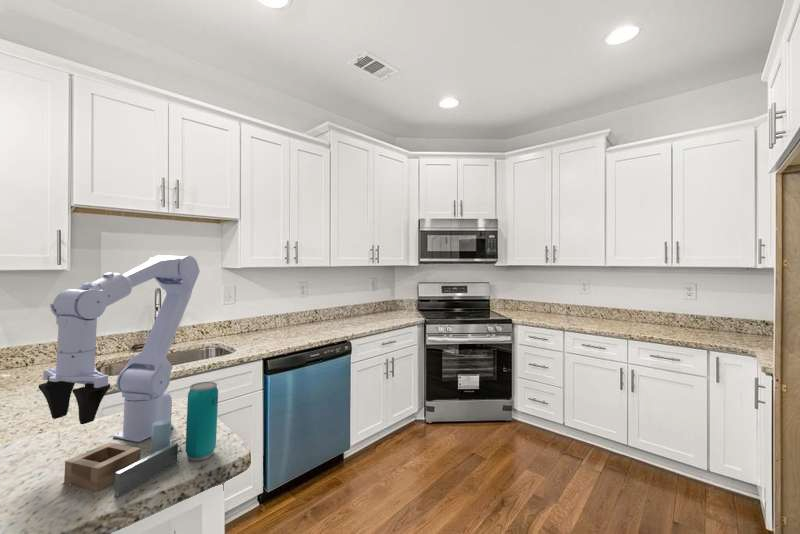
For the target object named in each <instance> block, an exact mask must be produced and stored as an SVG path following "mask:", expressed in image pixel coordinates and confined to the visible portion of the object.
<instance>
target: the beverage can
mask: <svg viewBox="0 0 800 534" xmlns="http://www.w3.org/2000/svg"><path fill="white" fill-rule="evenodd" d="M218 405H219V389H218V383H217V382H214V381H201V382H196V383H193V384H191V385H190V386H189V391H188V393H187V409H186V427H185V428H186V429H185V430H186V431H185V435H186V436H185V453H186V456H187V459H188V460H190V461H193V462H199V461H204V460H207V459H209V458H210V457H211V456H212V455H213V453H214V452H215V449H216V446H217V428H218Z"/></svg>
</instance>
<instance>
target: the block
mask: <svg viewBox="0 0 800 534" xmlns="http://www.w3.org/2000/svg"><path fill="white" fill-rule="evenodd" d="M139 460H141V448H140V447H136V446H131V445H126V444H121V443H115V442H112V441H110V442H107V443H105V444H102V445H99V446H98V447H95V448H93V449H91V450H87V451H86V452H84V453H82V454H79V455H77V456H74V457H72V458H69V459H67V460H65V461H64V477H63V484H65V483H66V485H69V484H71V485H70V486H73V487H77V488H82V489H84V490H85V489H86V490H89V491H94V492H99V491H101V490H103V489H104V488H107V487H108V486H110V485H113V484H115V473H116V472H118V471H120V470H122V469H124V468H126V467H128V466H130V465H131V464H133V463H135V462H137V461H139Z"/></svg>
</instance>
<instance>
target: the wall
mask: <svg viewBox="0 0 800 534" xmlns="http://www.w3.org/2000/svg"><path fill="white" fill-rule="evenodd" d="M178 450H179V443H178V442H173V443H170V445H169V446H167V447H165V448H163V449H161V450H159V451H157V452H155V453H153V454H151V453H150V454H149V455H148V456H145V457H144V458H142V459H141V458H140V460H139V461H137V462H135V463H133V464H131V465H130V466H128V467H126V468H124V469H122V470H120V471H118V472H116V473H115V482H114V491H113V496H114V497H118V498H120V497H121V496H123V495H125V494H127V493H128V492H130V491H131V490H134V489H135V488H137V487H138V485H139V486H140V485H142V484H144V483H145V482H147V481H149V480H151V479H152V478H155V477H156V476H158V475H159V474H161V473H163V472H164V471H166V470H168V469H170V468H172V467H173V466H176V464H178V455H179V454H178V452H179V451H178Z"/></svg>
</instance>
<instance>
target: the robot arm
mask: <svg viewBox="0 0 800 534" xmlns="http://www.w3.org/2000/svg"><path fill="white" fill-rule="evenodd" d="M200 272H201V271H200V267H199V264H198V262H197V259H196V258H195V257H194V256H191V255H184V256H183V255H182V256H181V255H164V254H158V255H155V256H153V257H149V258H148V260H147V261H145V262H143V263H142V264H140V265H138V266H136V267H134V268H132V269H130V270H129V271H126V272H125V273H123V274H122V273H119V272H106V273H103V274H102V277H101V278H98V279H96V280H93V281H91V282H84V283H82V284H81V286H80V287H79V288H77V289H75V288H70V289H66V290H63V291H60V293H58V294H57V296H55V298H54V300H53V302H52V303H50V304H49V305H50V310H51V312H52V314H53V315H54V316H55V318H56V323H55V324H56V325H57V326H58V328H57V344H56V345H57V347H56V365H55V366H56V367H52V368H47V369H43V376H42V379H43V381H46V382H44V383H40V384H38V389H39V391H41V393H42V394H43V396H44V397H45V400H46V402H47V405H48V408H49V411H50V416H51V418H52V419H53V420H57V419H59V418H63V417H66V416H67V415H68V413H69V408H70V401H71V395H72V394H73V395H74V397H75V399H76V403H77V406H78V407H77V408H78V421H79V423H80V425H85V424H88V423H91V422H94V421H95V418H96V416H97V414H98V413H97V412H98V411H99V407H100V405H101V402H102V400H103V399H104V396H105V395H106V394H107V392H108V391H109V389H111V383H109V375H108V374H104V373H102V372H100V371H98V370H96V368H95V367H96V366H95V365H96V347H97V345H96V344H97V343H96V341H97V330H98V329H97V327H98V318H100V317H101V316H102V315H103V314H104V312H105V310H106V309H107V308H108V307H109V306H110V305H113V304H114V303H116V302H119V301H120V300H122V299H125V298H126V297H128V296H129V295H131V293H132V289H133V288H135V287H137V286H139V285H142V284H143V283H144V284H145V282H148V281H150V280H153V279H155V280H156V282H157V283H158V284H159V286H160V288H161V289H163V290H164V291H165V293H166V295H165V297H164V300H163V301H162V303H161V304H162V305H161V306H160V309H159V311H158V313H157V316H156V318H155V319H154V322H153V325H152V328H151V329H150V331H149V333H148V335H147V338H146V341H145V343H144V345H143V347H142V350H141V352H140V353H138V354H137V355H134V356H133V357H132V358H130V359H129V360H128V361H127V363H126V366H125V367H124V368H123V369H122V370H121V371H120V372H119V374H118V376H117V379H116V381H115V382H116V389H117V391H118V392H119V393H121V397H122V398H123V399H124V400H123V402H124V403H123V405H124V406H123V421H122V422H123V425H122V431H119V432H117V433H114V434H113V435H112V437H113V438H114V439H115V438H116V439H120V440H126V441H130V442H135V443H140V442H142V441H145V440H146V439H149V438H151V436H152V424H153V423H155V422H157V421H161V420H170V421H171V422H172V413H173V412H172V411H173V410H172V409H173V407H172V406H173V399H172V396H171V394H170V392H168V391H167V389H168V388H169V385H170V383H171V373H172V370H173V365H172V363H171V362H170V361H169V359H167V356H168V353H169V351H170V348H171V346H172V343H173V341H174V339H175V336H176V333H177V331H178V329H179V326H180V324H181V322H182V319H183V316H184V313H185V311H186V309H187V307H188V304H189V301H190V299H191V297H192V293H193V289H194V286H195V284H196V282H197V280H198V276H199V275H200ZM75 384H77V385H78V384H81V385H84V386H80V387H77V388H74V387H75ZM172 427H174V424H173V423H171V428H172Z"/></svg>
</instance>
